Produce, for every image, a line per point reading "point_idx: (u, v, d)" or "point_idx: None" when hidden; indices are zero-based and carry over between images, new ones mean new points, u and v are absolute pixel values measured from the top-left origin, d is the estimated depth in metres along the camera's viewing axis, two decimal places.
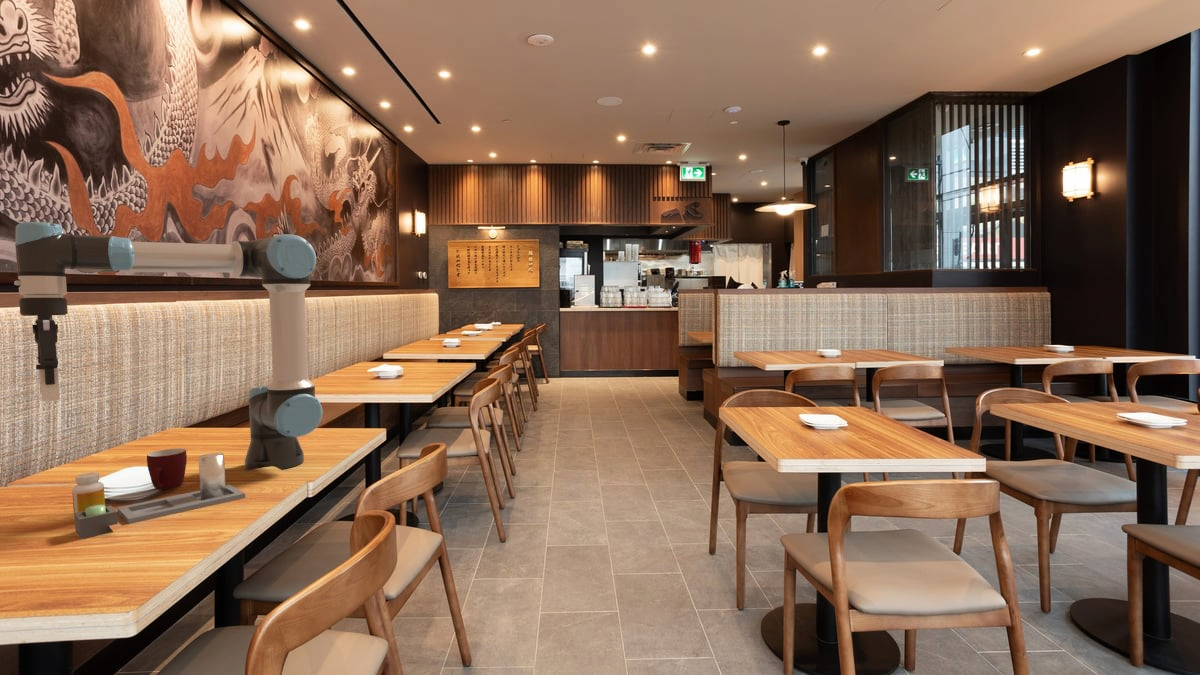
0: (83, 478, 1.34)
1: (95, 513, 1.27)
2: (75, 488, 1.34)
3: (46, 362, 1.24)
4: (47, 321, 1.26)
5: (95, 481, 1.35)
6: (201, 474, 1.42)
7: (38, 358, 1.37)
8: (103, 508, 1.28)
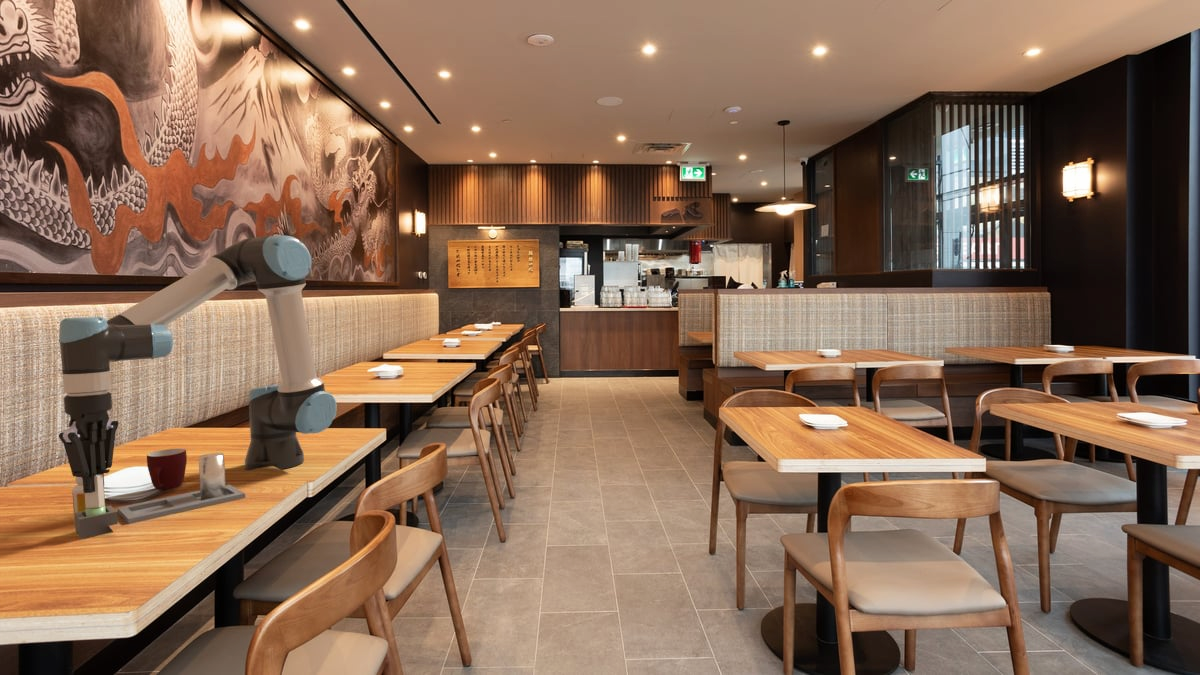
0: None
1: (95, 513, 1.27)
2: (75, 488, 1.34)
3: (76, 472, 1.24)
4: (66, 436, 1.21)
5: None
6: (201, 474, 1.42)
7: (96, 464, 1.30)
8: (103, 508, 1.28)
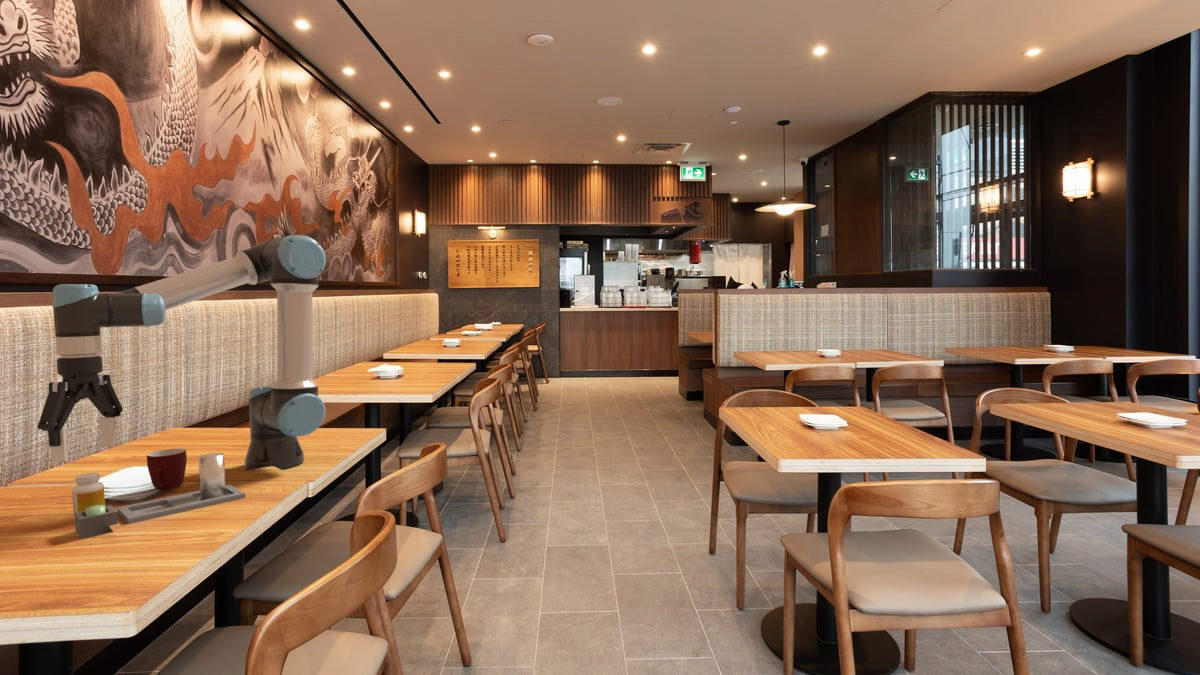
0: (83, 478, 1.34)
1: (95, 513, 1.27)
2: (75, 488, 1.34)
3: (41, 425, 1.25)
4: (56, 383, 1.28)
5: (95, 481, 1.35)
6: (201, 474, 1.42)
7: None
8: (103, 508, 1.28)
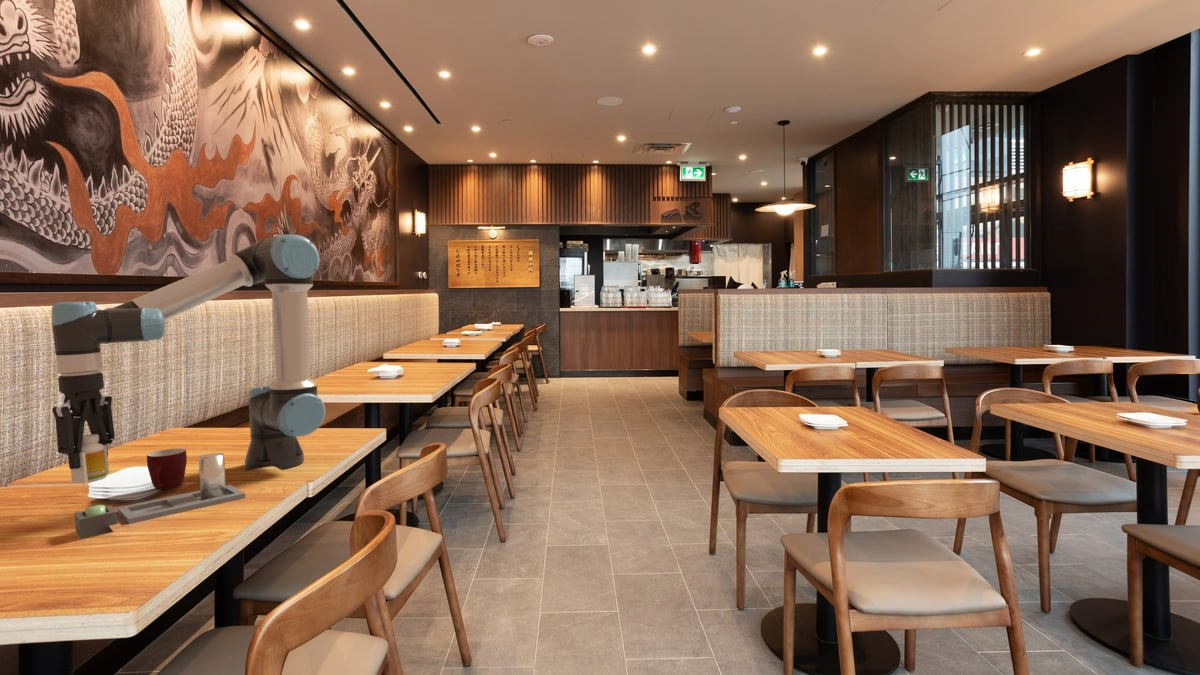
0: (83, 439, 1.33)
1: (95, 513, 1.27)
2: None
3: (61, 449, 1.29)
4: (59, 409, 1.28)
5: (95, 442, 1.35)
6: (201, 474, 1.42)
7: None
8: (103, 508, 1.28)
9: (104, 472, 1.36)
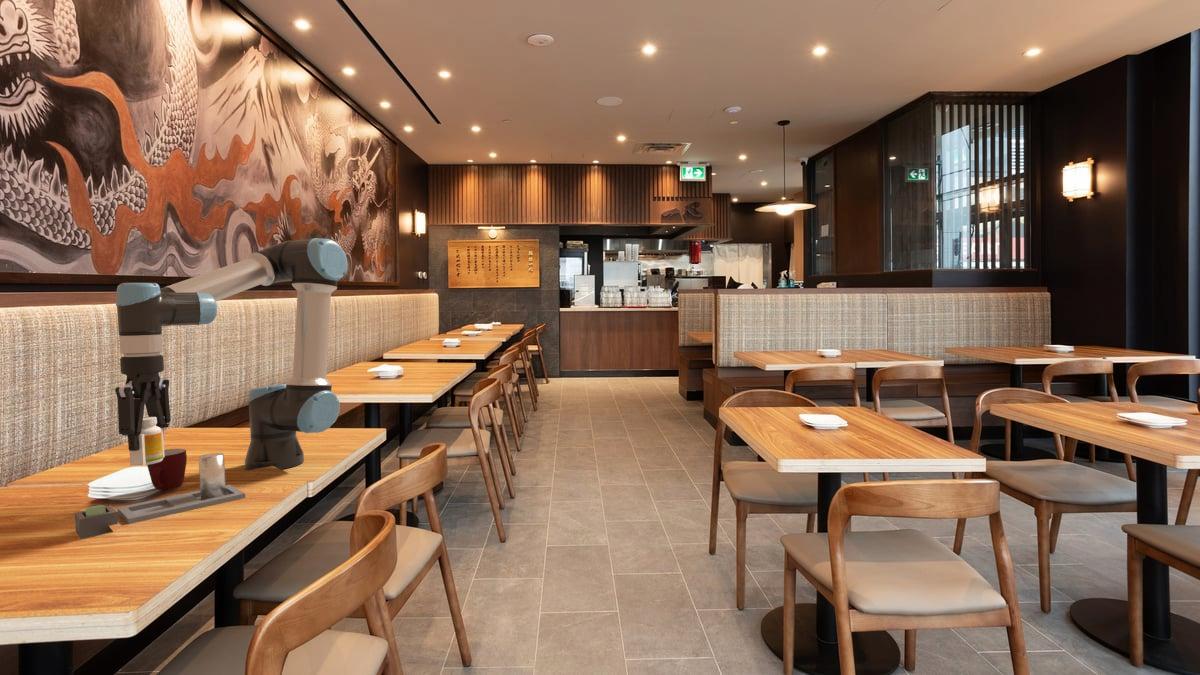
0: (142, 421, 1.32)
1: (95, 513, 1.27)
2: None
3: (122, 430, 1.28)
4: (122, 389, 1.27)
5: (153, 424, 1.34)
6: (201, 474, 1.42)
7: None
8: (103, 508, 1.28)
9: (161, 455, 1.35)
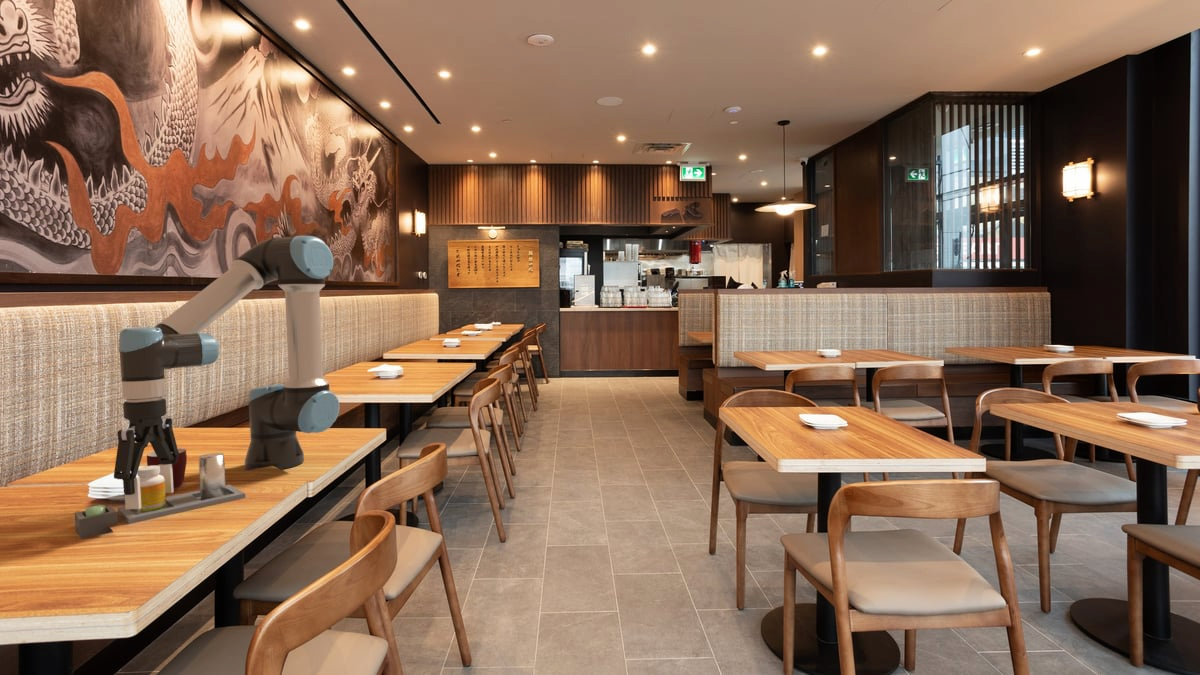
0: (145, 471, 1.33)
1: (95, 513, 1.27)
2: None
3: (117, 474, 1.26)
4: (124, 432, 1.28)
5: (156, 474, 1.35)
6: (201, 474, 1.42)
7: None
8: (103, 508, 1.28)
9: (164, 504, 1.36)
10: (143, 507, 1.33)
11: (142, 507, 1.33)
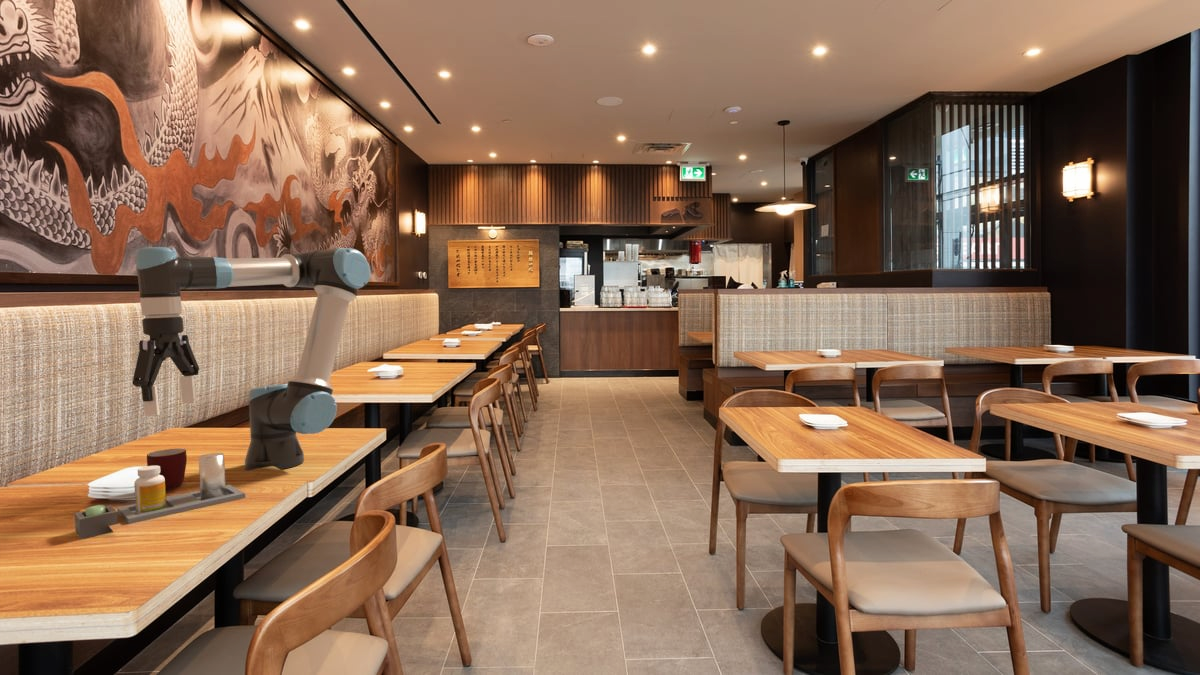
0: (145, 471, 1.33)
1: (95, 513, 1.27)
2: (137, 481, 1.33)
3: (136, 381, 1.31)
4: (146, 341, 1.34)
5: (157, 474, 1.35)
6: (201, 474, 1.42)
7: None
8: (103, 508, 1.28)
9: (164, 504, 1.36)
10: (143, 507, 1.33)
11: (142, 507, 1.33)
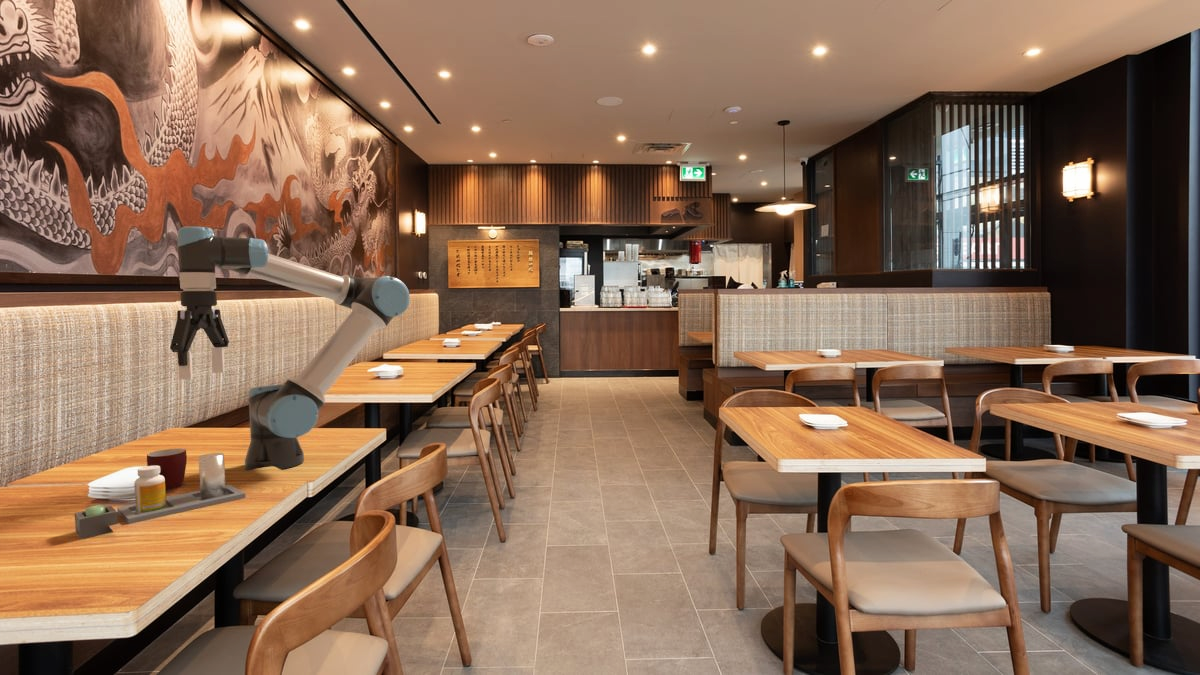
0: (145, 471, 1.33)
1: (95, 513, 1.27)
2: (137, 481, 1.33)
3: (173, 346, 1.44)
4: (183, 311, 1.47)
5: (157, 474, 1.35)
6: (201, 474, 1.42)
7: None
8: (103, 508, 1.28)
9: (164, 504, 1.36)
10: (143, 507, 1.33)
11: (142, 507, 1.33)
